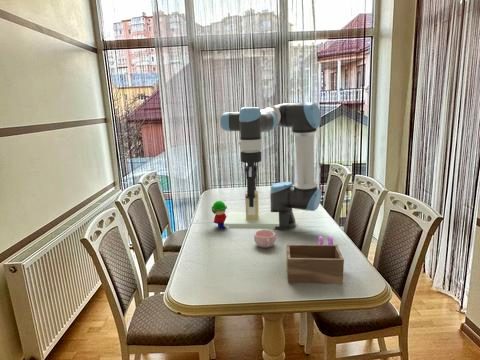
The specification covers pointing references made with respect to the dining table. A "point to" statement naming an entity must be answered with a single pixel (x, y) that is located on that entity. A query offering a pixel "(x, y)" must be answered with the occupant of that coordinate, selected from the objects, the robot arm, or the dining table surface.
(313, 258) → the box
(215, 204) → the toy
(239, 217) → the lid
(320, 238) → the bracket
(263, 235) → the mug
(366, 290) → the dining table surface
